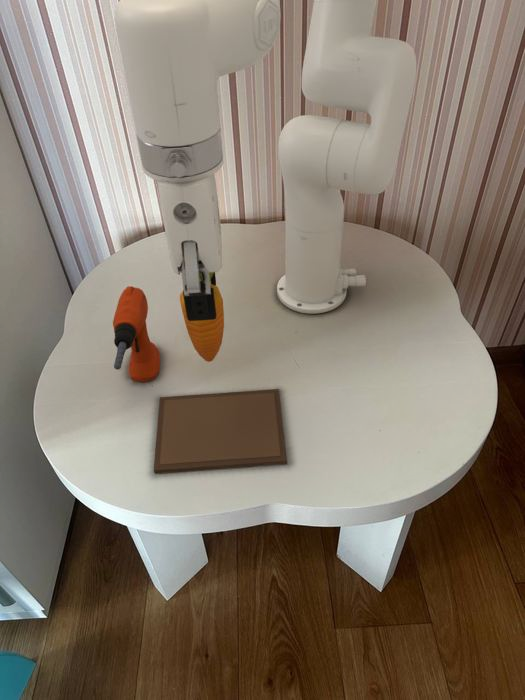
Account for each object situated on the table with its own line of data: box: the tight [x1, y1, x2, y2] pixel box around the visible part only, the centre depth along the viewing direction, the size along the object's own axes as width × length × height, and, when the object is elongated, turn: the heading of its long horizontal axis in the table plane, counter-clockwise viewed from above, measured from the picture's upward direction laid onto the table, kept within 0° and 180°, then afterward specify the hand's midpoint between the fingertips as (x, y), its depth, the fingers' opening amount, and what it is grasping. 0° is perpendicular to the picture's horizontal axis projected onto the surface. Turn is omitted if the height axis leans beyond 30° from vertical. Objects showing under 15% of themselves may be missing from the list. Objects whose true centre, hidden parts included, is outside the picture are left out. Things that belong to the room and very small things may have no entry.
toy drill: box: [112, 285, 161, 383], centre depth 82 cm, size 5×19×15 cm, turn 3°
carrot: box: [179, 272, 225, 363], centre depth 66 cm, size 5×5×15 cm
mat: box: [153, 388, 288, 474], centre depth 81 cm, size 18×13×1 cm
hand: (202, 300), depth 64 cm, fingers closed on carrot, 4 cm apart
